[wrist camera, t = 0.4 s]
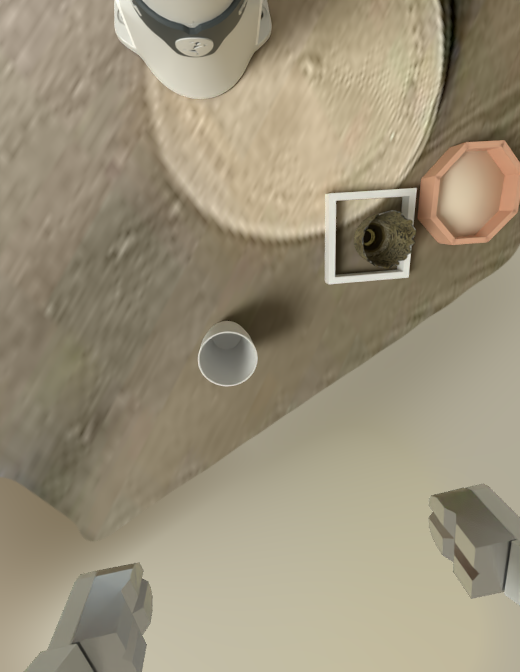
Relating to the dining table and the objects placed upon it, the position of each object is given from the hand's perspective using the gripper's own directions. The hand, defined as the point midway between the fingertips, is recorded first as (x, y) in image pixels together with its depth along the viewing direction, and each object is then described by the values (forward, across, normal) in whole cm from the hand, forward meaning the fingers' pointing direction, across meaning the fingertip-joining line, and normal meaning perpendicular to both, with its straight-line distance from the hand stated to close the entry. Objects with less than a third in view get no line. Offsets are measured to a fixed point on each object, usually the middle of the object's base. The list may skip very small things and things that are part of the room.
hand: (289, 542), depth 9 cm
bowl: (+45, -37, -5) cm, 58 cm away
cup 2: (+45, -21, -2) cm, 50 cm away
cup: (+45, +3, +10) cm, 46 cm away
